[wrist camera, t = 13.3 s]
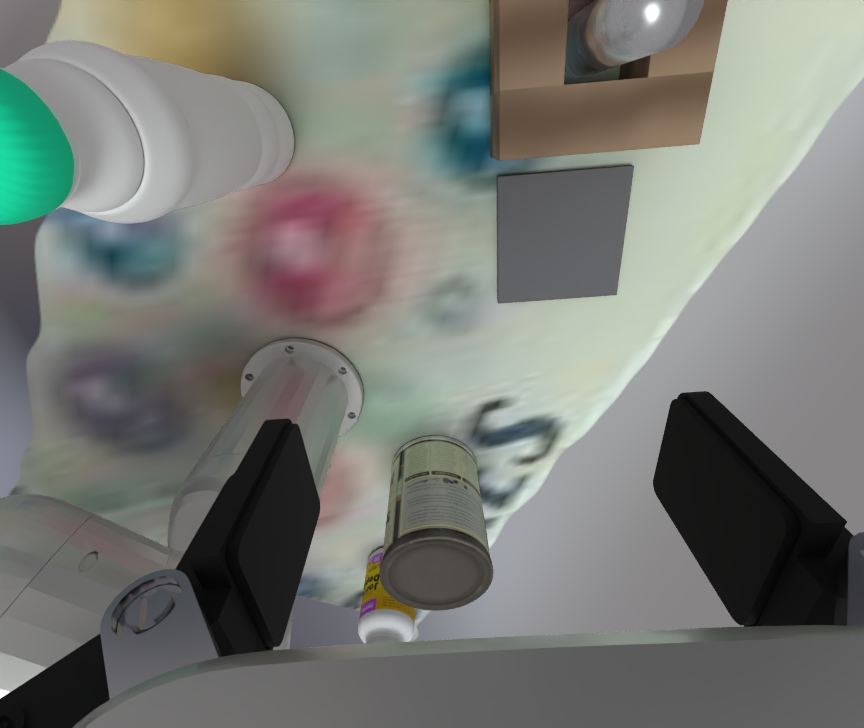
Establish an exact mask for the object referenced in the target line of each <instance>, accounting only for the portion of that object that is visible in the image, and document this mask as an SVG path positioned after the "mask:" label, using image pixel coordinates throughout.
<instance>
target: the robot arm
mask: <svg viewBox="0 0 864 728" xmlns="http://www.w3.org/2000/svg"><path fill="white" fill-rule="evenodd" d="M290 346H291V347H290ZM292 347H293V348H292ZM342 367H344V368H342ZM240 388H241V396H242V400H241V401H240V403H239V404H238V406H237V407H236V408H235V410H234V411H233V413H232V414H231V416H230V417H229V418H228V420H227V421H226V423H225V424H224V426H223V427H222V428H221V430H220V431H219V433H218V434H217V436H216V437H215V438H214V440H213V441H212V443H211V444H210V446H209V447H208V448H207V450H206V451H205V453H204V454H203V456H202V457H201V458H200V460H199V461H198V463H197V464H196V466H195V467H194V469H193V470H192V471H191V472H190V474H189V475H188V477H187V478H186V480H185V481H184V483H183V484H182V486H181V487H180V489H179V491H178V493H177V495H176V497H175V499H174V502H173V505H172V508H171V512H170V517H169V522H168V547H166V546H164V545H162V544H159V543H157V542H155V541H153V540H151V539H149V538H146V537H144V536H142V535H140V534H138V533H136V532H133V531H131V530H129V529H127V528H125V527H122V526H120V525H118V524H116V523H114V522H112V521H109V520H107V519H105V518H103V517H101V516H99V515H96V514H94V513H91V512H89V511H87V510H85V509H82V508H80V507H78V506H75V505H73V504H70V503H68V502H65V501H62V500H60V499H56V498H53V497H48V496H43V495H36V494H20V495H11V496H7V497H4V498H0V728H864V532H862V533H858V534H857V535H855V536H853V535H852V534H851V533H850V532H849V531H848V530H847V529H846V528H845V527H844V526H845V524H846V523H847V521H846V520H845V519H844V518H842V516H840V515H839V514H838V513H837V512H836V511H835V510H834V509H833V508H832V507H831V506H830V505H829V504H828V503H827V502H826V501H824V500H823V499H822V498H821V497H820V496H819V495H818V494H817V493H816V492H815V491H814V490H813V489H812V488H810V486H808V485H807V484H806V483H805V482H804V481H803V480H802V479H801V478H800V477H799V476H798V475H797V474H796V473H795V472H794V471H792V469H790V468H789V467H788V466H787V465H786V464H785V463H784V462H783V461H782V460H781V459H780V458H779V457H778V456H777V455H776V454H774V453H773V452H772V451H771V450H770V449H769V448H768V447H767V446H766V445H765V444H764V443H763V442H762V441H760V439H758V437H756V436H755V435H754V434H753V433H752V432H751V431H750V430H749V429H748V428H747V427H746V426H744V424H743V423H742V422H740V421H739V420H738V419H737V418H736V417H735V416H734V415H733V414H732V413H731V412H730V411H729V410H728V409H727V408H726V407H725V406H724V405H722V404H721V403H720V402H719V401H718V400H717V399H716V398H715V397H714V396H713V395H712V394H710V393H709V392H705V391H704V392H689V393H681V394H680V395H679V396H678V398H677V399H674V400H673V401H672V402H671V405H670V409H669V413H668V418H667V423H666V427H665V431H664V435H663V440H662V444H661V449H660V453H659V457H658V462H657V466H656V471H655V475H654V479H653V486H654V491H655V493H656V495H657V497H658V499H659V500H660V502H661V503H662V505H663V507H664V508H665V510H666V512H667V513H668V515H669V516H670V518H671V520H672V521H673V523H674V525H675V526H676V528H677V529H678V531H679V533H680V534H681V536H682V537H683V539H684V541H685V542H686V544H687V546H688V547H689V549H690V550H691V552H692V554H693V555H694V557H695V558H696V560H697V561H698V563H699V565H700V567H701V568H702V570H703V571H704V573H705V574H706V576H707V578H708V579H709V581H710V583H711V584H712V586H713V588H714V589H715V591H716V592H717V594H718V596H719V597H720V599H721V601H722V602H723V604H724V605H725V607H726V609H727V610H728V612H729V613H730V615H731V617H732V618H733V619H734V620H735V622H736V623H738V624H740V625H744V627H722V628H698V629H675V630H649V631H625V632H602V633H580V634H558V635H536V636H515V637H494V638H473V639H454V640H435V641H416V642H396V643H377V644H360V645H340V646H326V647H312V648H298V649H289V645H290V634H291V623H292V610H293V603H294V600H295V596H296V593H297V590H298V586H299V583H300V579H301V576H302V572H303V569H304V565H305V562H306V558H307V555H308V551H309V548H310V545H311V541H312V538H313V534H314V531H315V527H316V524H317V520H318V517H319V513H320V500H319V499H320V495H321V492H322V489H323V485H324V482H325V479H326V475H327V472H328V469H329V468H330V467H331V459H332V455H333V452H334V449H335V445H336V442H337V439H338V437H340V436H342V435H344V434H345V433H346V432H348V431H349V430H350V429H351V428H352V427H353V426H354V424H355V423H356V421H357V420H358V418H359V415H360V413H361V410H362V406H363V397H364V392H363V387H362V382H361V380H360V377H359V375H358V373H357V372H356V370H355V369H354V367H353V366H352V364H351V363H350V362H349V361H348V360H347V359H346V358H345V357H344V356H343V355H341V354H340V353H339V352H337V351H336V350H334V349H332V348H330V347H328V346H327V345H325V344H322V343H319V342H316V341H313V340H307V339H300V338H296V339H284V340H279V341H275V342H273V343H270V344H268V345H266V346H264V347H263V348H261V349H260V350H258V351H257V352H256V353H255V354H254V355H253V357H252V358H251V359H250V360H249V362H248V363H247V365H246V366H245V368H244V370H243V373H242V376H241V383H240Z"/></svg>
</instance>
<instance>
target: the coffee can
mask: <svg viewBox="0 0 864 728" xmlns="http://www.w3.org/2000/svg"><path fill="white" fill-rule="evenodd" d="M391 469H392V475H391V483H390V493H389V503H388V512H387V521H386V529H385V540H384V549H383V558H382V560H381V564H380V570H379V578H380V582H381V584H382V586H383V588H384V589H385V591H386V592H387V593H388V594H389V595H390V596H391V597H392V598H393V599H395V600H397V601H398V602H400V603H402V604H405V605H407V606H410V607H414V608H418V609H423V610H448V609H453V608H457V607H461V606H464V605H466V604H469V603H471V602H473V601H474V600H476V599H477V598H479V597H480V596H481V595H482V594H484V593H485V591H486V590H487V589H488V588H489V586H490V584H491V582H492V579H493V566H492V561H491V559H490V555H489V547H488V540H487V533H486V527H485V520H484V514H483V507H482V500H481V493H480V487H479V479H478V473H477V462H476V459H475V457H474V455H473V453H472V452H471V451H470V450H469V448H467V447H466V446H465V445H464V444H462V443H461V442H459V441H457V440H455V439H452V438H448V437H444V436H426V437H421V438H418V439H415V440H413V441H411V442H409V443H407V444H405V445H404V446H403V447H402V448H401V449H400V450H399V451H398V452H397V453H396V455H395V457H394V459H393V462H392V468H391Z"/></svg>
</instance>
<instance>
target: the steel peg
mask: <svg viewBox="0 0 864 728" xmlns="http://www.w3.org/2000/svg"><path fill="white" fill-rule="evenodd" d="M703 3H704V0H593V1H592V2H590V3H589V4H588V5H587V6H585V7H584V8H583V9H581V10H580V11H579V12H578V13H576V14H575V15H574V16H573V17H571V18H570V19H569V21H568V23H567V40H566V57H565V70H566V71H567V72H568V73H570V74H571V75H574V76H577V77H584V76H588V75H591V74H594V73H598V72H601V71H604V70H607V69H610V68H613V67H616V66H619V65H622V64H625V63H628V62H631V61H634V60H637V59H640V58H643V57H646V56H649V55H652V54H655V53H658V52H661V51H664V50H667V49H669V48H671V47H673V46H674V45H676V44H677V43H679V42H680V41H681V40H682V39H683V38H684V37H685V36H686V35H687V34H688V33H689V32H690V30H691V29H692V28H693V26H694V25H695V23H696V21H697V19H698V17H699V15H700V13H701V10H702V7H703Z"/></svg>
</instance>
